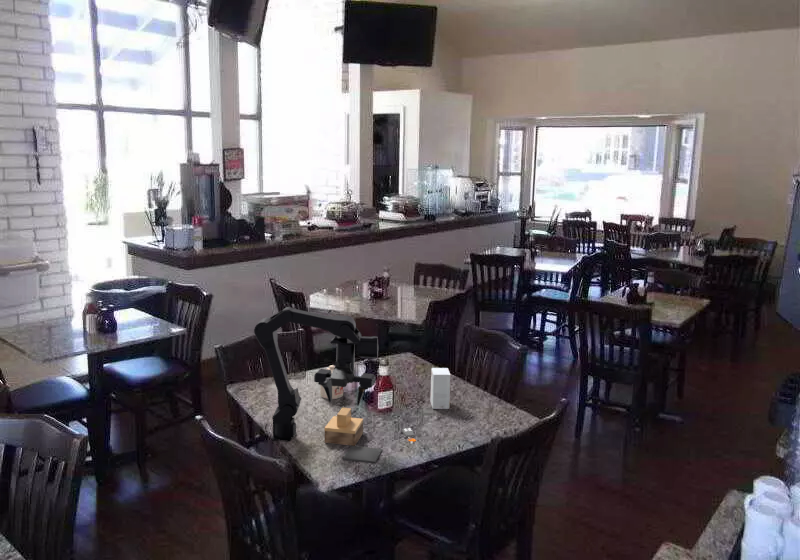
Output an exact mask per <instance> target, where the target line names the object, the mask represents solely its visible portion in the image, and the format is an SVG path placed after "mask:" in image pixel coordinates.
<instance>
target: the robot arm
mask: <svg viewBox="0 0 800 560" xmlns="http://www.w3.org/2000/svg"><path fill="white" fill-rule="evenodd" d="M288 323H292V324H297V325H303V326H307V327H311V328H316V329H319V330H320V329H321V330H325V331H327V332H328V333H330V334H332V335H334V337H332V338H331V340H330V341H329V342H330V344H333V345H334V344H335V345H336V355H335V356H336V357H335V358H336V359H335V360H336V361H335V362H334V363H335V364H334V370H333V372H332V373H331V370H328V369H327V368H320V369H318V371H317V372H316V373H315V374H314V377H313V381H314V382H315V383H317V384H318V386H320V385H322V386H323V387H324V389H325V391H326V394H327V397H328V399H327V400H328V402H329V403H332V402H333V399H332V386H340V387H343V388H346V387H347V386H348V384H352V383H358V384H359V386H358V387H357V388H358V389H357V391H358V392H357V393H358V394H357V399H356V400H357V401H356V402H357V403H356V405H357V406H358V407H359V406H360V404H361V401H362V398H363V396H364V394H365V392H366V391H367V390H369V389H370V388H373V386H374V385H375V384H376V375H375V374H374V373H366V372H364V373H362V374H361V375H359V376H358V375H355V373H356V371H355V361H356V358H355V356H356V355H357V356H358V357H359V358H361V359H379V339H378V337H379V336H374V335H373V336H364V335H363V336H362V333H361V331H359V329H358V327H356V326H357V325H356V321H355V319H354V318H353V317H352V316H349V315H324V314H319V313H315V312H311V311H307V310H302V309H297V308H293V307H291V306H287V307H285V308H283V310H280V311H279V312H277V313H275V314H273V315H272V316H270V317H263V318H261V319H260V320H259V321H258V322H257V324H256V325H255V327H254V329H253V333H254V336H255V337H256V340H257V341H258V343H259V345H260V347H262V349H263V351H265V355H266V358H267V361H268V364H269V368H270V370H271V374H272V377H273V378H272V379H273V381H274V383H275V386H276V390H277V403H278V404H277V405H278V406H277V407H276V410H275V411H274V413H273V415H272V417H271V420H272V436H271V437H270V439H271V440H275V441H284V442H291V441H292V439H293V438H294V437H295V436H296V435H297V422H295V416H296V414H297V413H298V410H299V407H300V405H301V401H302V397H301V395H300V392H299V388H298V387H296V388H294V387H292V385H291V383H290V380H289V376H288V373H287V369H286V367H285V363H284V361H283V360H284V359H283V357H282V353H281V350H280V347H279V342H278V339H279V337H278V330H279V329H280V328H282V327H283V326H285V325H286V324H288ZM355 345H356V346H355ZM355 351H356V355H355Z"/></svg>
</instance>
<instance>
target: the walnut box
mask: <svg viewBox="0 0 800 560" xmlns="http://www.w3.org/2000/svg"><path fill="white" fill-rule="evenodd" d="M363 434H364V422H363V423H362V424H361V426H360V427H359V429H358V430H357V432H356V433H355V434H351V433H341V432H332V431H325V430H324V443H325V444H335V445H343V446H344V445H345V446H351V445H352V446H357V443H358V442H359V440H360V439H361V437H362V436H363Z"/></svg>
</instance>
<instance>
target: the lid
mask: <svg viewBox="0 0 800 560" xmlns="http://www.w3.org/2000/svg"><path fill="white" fill-rule="evenodd" d="M362 423H363V424H364V418H359V417H352V408H349V407H342V408H341V409H340V410H339V411H338V412H337V414H336V415H333V416H332V417H331V418H330V420H329V421H328V422H327V424H326V425H325V426H324V432H325V431H332V432H341V433H351V434H355V433H356V432H357V430H358V429H359V427H360V426H361V424H362Z"/></svg>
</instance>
